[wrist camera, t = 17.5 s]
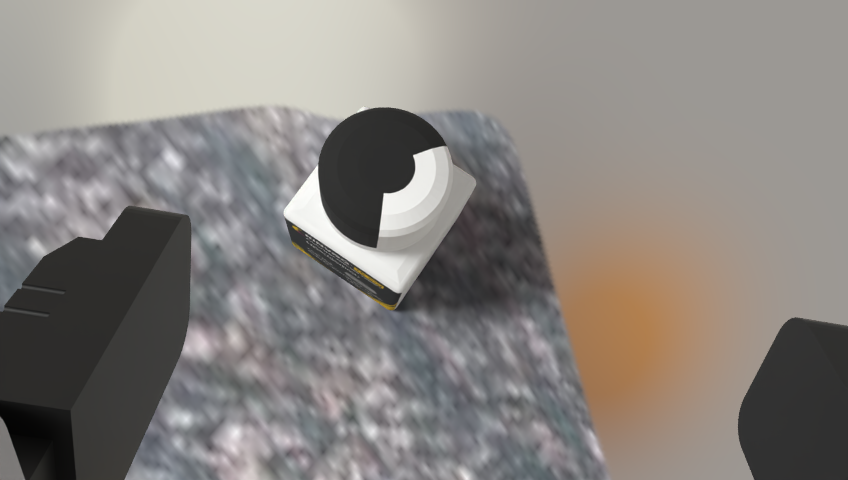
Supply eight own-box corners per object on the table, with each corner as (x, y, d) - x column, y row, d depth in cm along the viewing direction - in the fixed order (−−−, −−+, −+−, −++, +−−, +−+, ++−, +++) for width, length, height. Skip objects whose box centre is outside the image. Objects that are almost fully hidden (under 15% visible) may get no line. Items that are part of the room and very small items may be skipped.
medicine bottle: (289, 244, 46) (271, 184, 34) (360, 147, 48) (366, 59, 36) (392, 313, 46) (409, 278, 34) (460, 214, 47) (498, 147, 36)
